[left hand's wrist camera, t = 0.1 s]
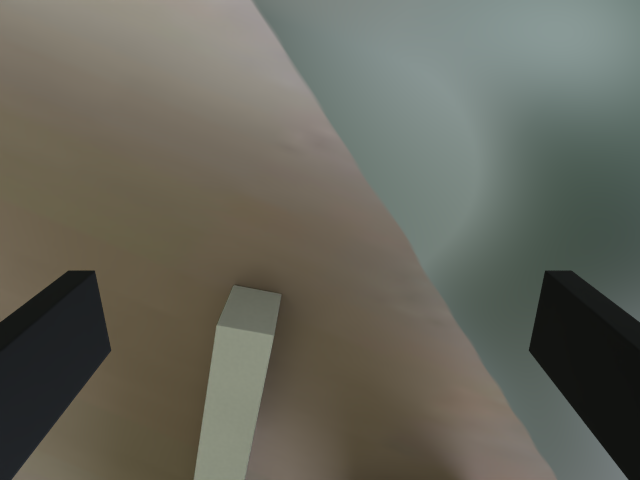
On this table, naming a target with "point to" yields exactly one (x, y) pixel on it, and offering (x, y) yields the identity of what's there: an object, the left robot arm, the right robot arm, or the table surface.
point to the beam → (236, 383)
